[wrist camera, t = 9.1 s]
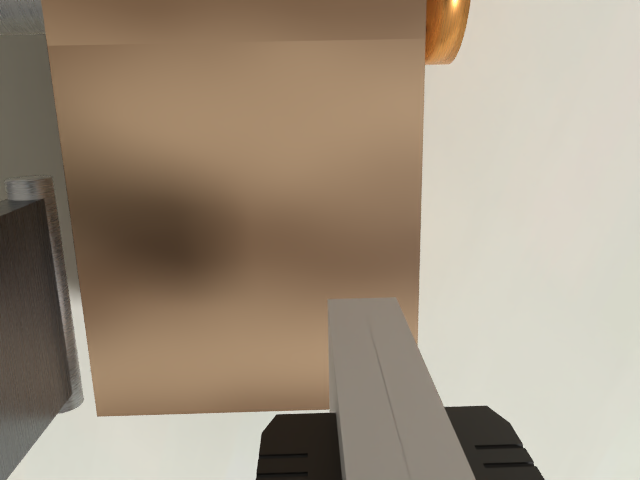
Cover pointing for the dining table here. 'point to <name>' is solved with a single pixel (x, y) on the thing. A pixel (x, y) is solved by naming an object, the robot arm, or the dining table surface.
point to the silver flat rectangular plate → (33, 320)
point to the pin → (440, 44)
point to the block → (235, 188)
